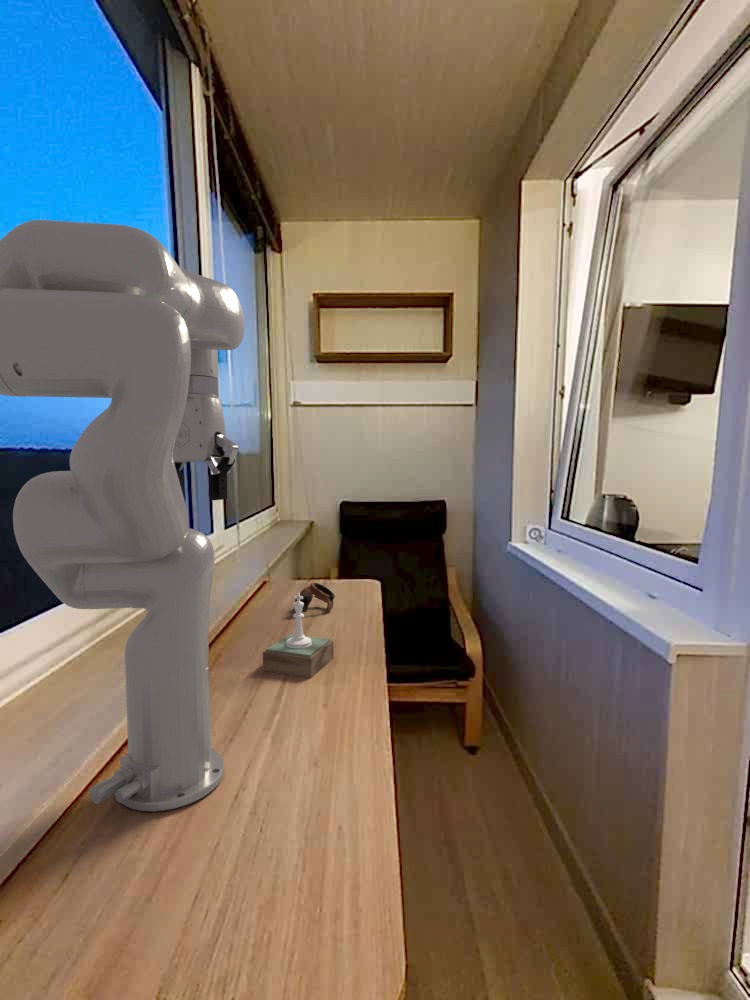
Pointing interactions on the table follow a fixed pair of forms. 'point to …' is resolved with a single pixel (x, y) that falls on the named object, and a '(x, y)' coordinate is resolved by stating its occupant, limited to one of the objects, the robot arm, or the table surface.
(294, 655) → the pedestal
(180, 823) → the table surface
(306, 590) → the brown curved open ring
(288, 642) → the chess piece
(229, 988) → the table surface
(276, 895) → the table surface
